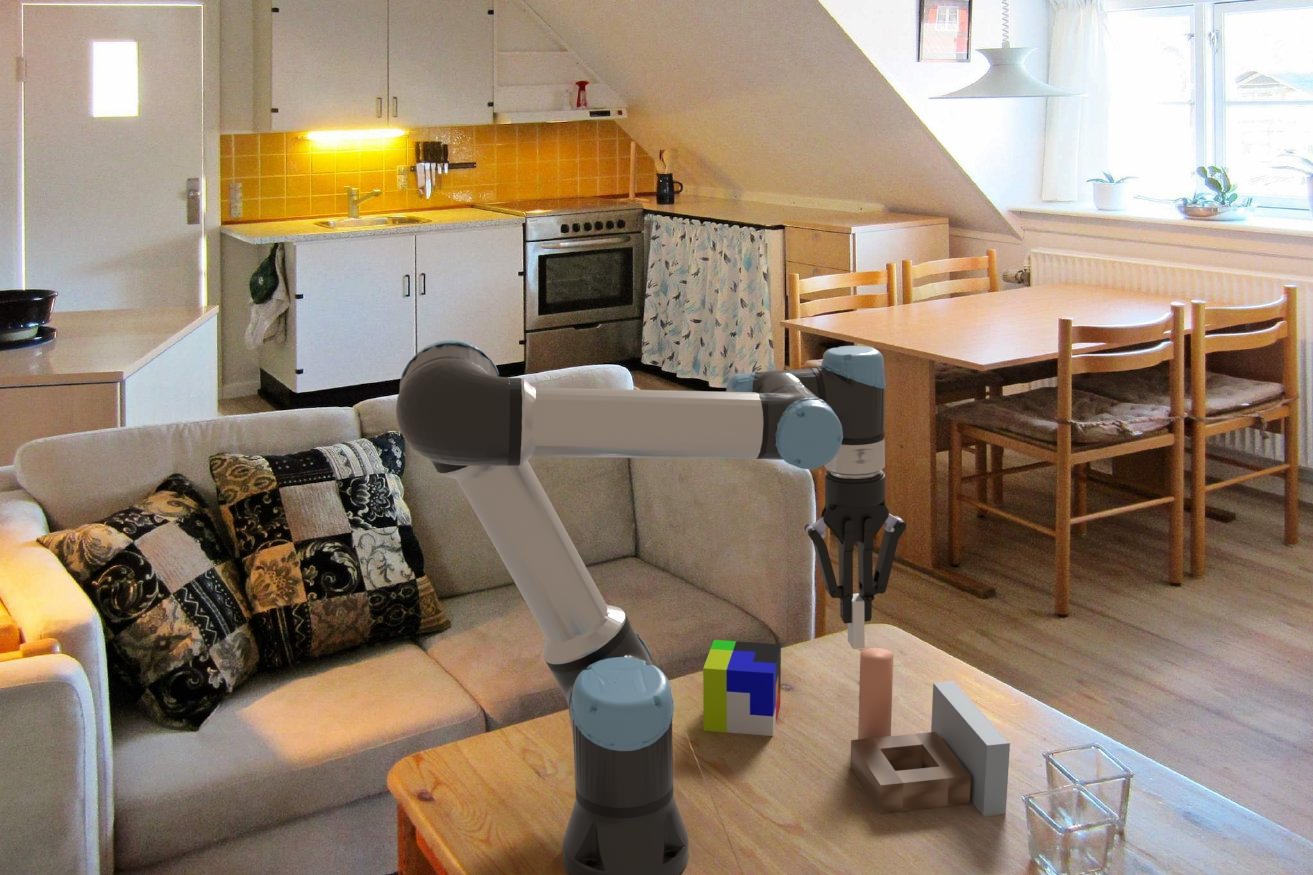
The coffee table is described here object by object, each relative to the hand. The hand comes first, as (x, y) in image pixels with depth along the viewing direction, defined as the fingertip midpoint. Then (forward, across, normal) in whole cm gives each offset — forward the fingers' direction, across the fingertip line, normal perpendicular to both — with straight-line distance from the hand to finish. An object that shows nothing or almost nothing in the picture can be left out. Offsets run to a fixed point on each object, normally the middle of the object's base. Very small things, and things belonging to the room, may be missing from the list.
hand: (856, 644), depth 167 cm
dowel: (+20, +5, +8) cm, 21 cm away
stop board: (+20, +14, -3) cm, 24 cm away
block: (+19, +6, -3) cm, 20 cm away
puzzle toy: (+19, -12, +19) cm, 30 cm away
